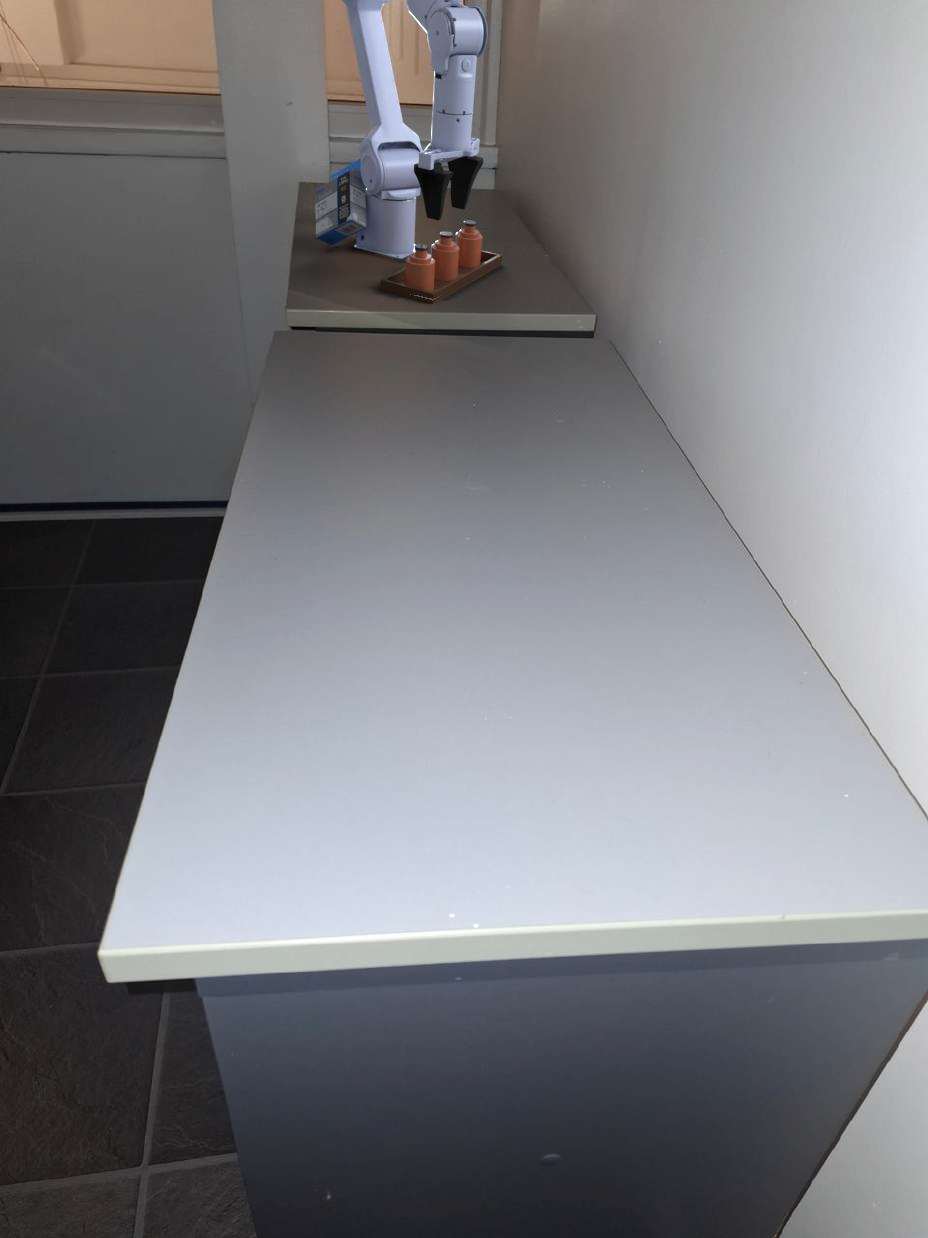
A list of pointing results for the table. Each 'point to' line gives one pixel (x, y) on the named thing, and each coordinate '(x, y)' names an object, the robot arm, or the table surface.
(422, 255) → the loose bottle
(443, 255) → the bottle middle
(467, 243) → the bottle back
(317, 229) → the ink cartridge box
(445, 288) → the tray
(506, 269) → the table surface
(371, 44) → the robot arm
